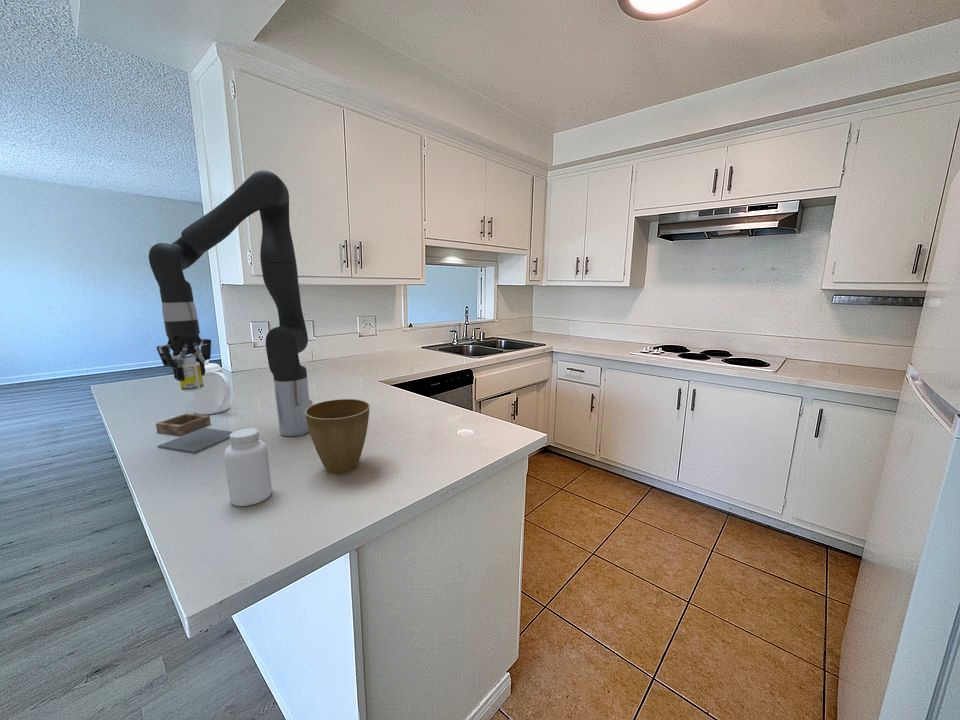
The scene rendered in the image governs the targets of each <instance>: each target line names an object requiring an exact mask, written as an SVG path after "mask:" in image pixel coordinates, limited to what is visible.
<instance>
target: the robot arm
mask: <svg viewBox="0 0 960 720" xmlns="http://www.w3.org/2000/svg"><path fill="white" fill-rule="evenodd" d="M258 211H259V216H260V221H261V228H262V231H261V233H262V234H261V240H260V241H261V242H260V253H259V254H260V255H259V256H260V257H259V258H260V267H261V274H262V279H263V282H264V285H265V287H266V289H267V291H268V293H269V295H270V296H271V298H272V300H273V302H274V304H275V306H276V309H277V315H278V324H279V326H275V327H273V328H271V329H270V330H269V331H268V332H267V333H266V337H265V351H266V356H267V363H268V367H269V371H270V372H271V373H272V376H273V377H272V378H273V384H274V393H275V403H276V409H277V410H276V411H277V421H278V428H279V434H280V436H284V437H296V436H298V437H299V436H301V437H302V436H304V435H306V434H308V433H310V431H309V428H308V424H307V420H306V415H305V410H306V409H307V408H308V407H310V406H312V405H314V403H313V399H312V400H311V399H310V393H309V391H310V390H309V382H308V371H307V368H306V367H305V366H304V365H302V364H301V363H300V357H299V354H300V353H301V352H303V351H304V350H305V349H306V348H307V346H308V342H309V338H308V337H309V336H308V330H307V326H306V323H305V318H304V315H303V314H304V313H303V308H302V301H301V292H300V286H299V274H298V266H297V259H296V254H295V253H296V252H295V248H294V242H293V238H292V232H291V226H290V224H291V223H290V193H289V190H288V188H287V186H286V184H285V183H284V181H283V179H281V178H280V177H279V176H278V175H277V174H275V172H272V171H269V170H264V169H260V170H257V171H255V172H253V173H252V174H251V175H250V176H249V177H247V178H246V180H244V182H243V183H241V185H240V186H239V187H238V188H236V190H234V192H233V193H231V194H230V195H229V196H228V197H227V198H226V199H225V200H224V201H222V202H221V203H220V204H218V205H217V206H215V207H214V208H213V209H212V210H211V211H209V212H207V213H206V214H204V215H203V216H201V217H200V218H198V219H197V220H195V221H194V222H193V223H191V224H190V225H188V226H187V227H185V228H184V229H183V230H182V231H181V234H180V235H181V236H180V237H179V238H178V239H177V240H175V241H174V242H172V243H166V242H157V243H156V244H154V245H152V246H151V247H150V249H149V252H148V261H149V262H148V263H149V266H150V268H151V270H152V273H153V276H154V278H155V280H156V283H157V285H158V287H159V294H160V299H161V307H162V308H161V311H162V317H163V318H162V319H163V323H164V329H165V334H166V337H167V339H168V341H167V343H166V344H164V345H157V346H156V351H157V353H158V355H159V357H160V360H161V362H162V365H163V366H164V367H165V368H166V367H168V368H171V369H172V372H173V378H174V379H175V380H176V381H178V382H180V381H183V380H184V373H183V368H182V363H183V360H184V359H185V356H195V357H196V361H195V362H199V363H200V367H201V373H202V376H204V375H205V374H204V373H205V365H204V362H205V361H206V360H209V361H210V359H211V356H212V355H211V352H212V340H211V339H209V338H203V339H202V338H201V337H200V334H201V331H200V325H199V318H198V312H197V308H196V304H195V300H194V294H193V289H192V285H191V283H190V282H189V281H188V280H186V277H185V274H184V270H186V269H188V268H190V267H192V266H193V264H195V263H196V262H197V261H198V260H199V259H200V258H201V257H202V256H203V255H204V254H205V252H208V251H209V250H211V249H212V248H214V247H216V245H218V244H219V243H221V242H223V240H225V239H226V238H227V237H229V236H230V235H231V234H232V233H233V232H234V231H235V230H236V229H237V227H238V226H239V225H240V224H241V223H242V222H244V220H246V219H247V218H248V217H250V216H251V215H253V214H254V213H256V212H258ZM171 350H172V353H171Z"/></svg>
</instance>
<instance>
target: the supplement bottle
mask: <svg viewBox="0 0 960 720" xmlns="http://www.w3.org/2000/svg"><path fill="white" fill-rule="evenodd" d="M195 361H196V357H195V356H190V355H185V359H184V360H183V363H182V368H183V373H184V380H183V381H179V383H180V389H181V391H183V392H193V391H195V390H199V389H202V388H203V387H204V385H203V379H202V373H201V367H200V363H199V362H195Z"/></svg>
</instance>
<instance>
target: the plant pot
mask: <svg viewBox="0 0 960 720" xmlns="http://www.w3.org/2000/svg"><path fill="white" fill-rule="evenodd" d="M370 407H371V406H370V403H369V402H367V401H365V400H361V399H357V398H356V399H355V398H342V399H341V398H340V399H339V398H338V399H330V400H324V401H319V402H317V403H313V405H312V406H310V407H308V408H307V409H306V410H305V415H306V420H307V424H308V428H309V431H310V432H309V434H310V438H311V440H312V442H313V445H314V448H315V450H316V453H317V454H318V457H319V460H320V462H321V463H322V465H323V467H324V469H325V470H326V472H327V473H328V474H330V475H335V476H336V475H337V476H338V475H345V474H349V473H351V472H354V471H355V470H356V469H357V467H358V465H359V462H360V459H361V456H362V453H363V449H364V446H365V443H366V437H367V432H368V427H369V419H370Z"/></svg>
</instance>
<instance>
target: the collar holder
mask: <svg viewBox="0 0 960 720" xmlns="http://www.w3.org/2000/svg"><path fill="white" fill-rule="evenodd" d="M210 425H212V423H211V416H210V415H199V414H196V413H190V412H189V413H188V412H187V413H184V414H180V415H178V416H175V417H172V418H168V419H166V420H163V421H159V422H156V423H155V426H156V427H155V428H156V432H157V433H158V434H164V435H169V436H170V435H171V436H178V437H182V436H184V435H187V434H190V433H192V432H195V431H197V430H200V429H203V428H206V427H208V426H210Z"/></svg>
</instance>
